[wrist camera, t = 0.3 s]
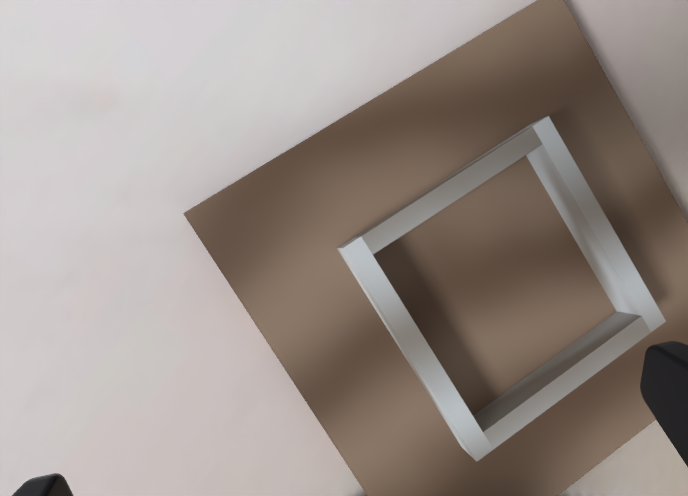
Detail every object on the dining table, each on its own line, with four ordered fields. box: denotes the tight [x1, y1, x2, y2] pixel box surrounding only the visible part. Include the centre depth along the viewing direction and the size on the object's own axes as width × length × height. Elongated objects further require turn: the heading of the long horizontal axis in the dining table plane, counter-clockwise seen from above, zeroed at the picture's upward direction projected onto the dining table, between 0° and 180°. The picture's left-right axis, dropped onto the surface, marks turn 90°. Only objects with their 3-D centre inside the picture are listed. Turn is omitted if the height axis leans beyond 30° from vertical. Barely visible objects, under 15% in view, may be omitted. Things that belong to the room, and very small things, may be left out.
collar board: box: [183, 0, 688, 496], centre depth 22 cm, size 18×18×2 cm
